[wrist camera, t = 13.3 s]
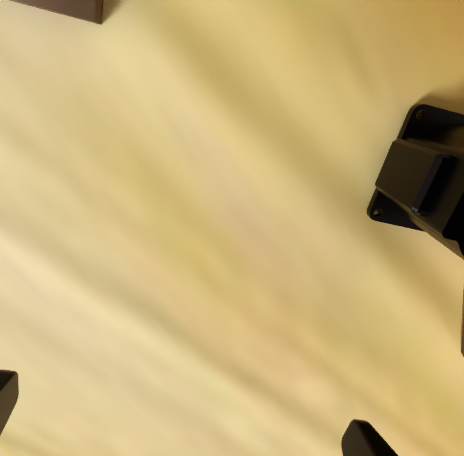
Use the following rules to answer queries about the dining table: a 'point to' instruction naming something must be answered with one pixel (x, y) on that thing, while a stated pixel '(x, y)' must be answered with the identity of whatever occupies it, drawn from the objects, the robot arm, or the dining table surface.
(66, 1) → the post base
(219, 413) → the dining table surface
